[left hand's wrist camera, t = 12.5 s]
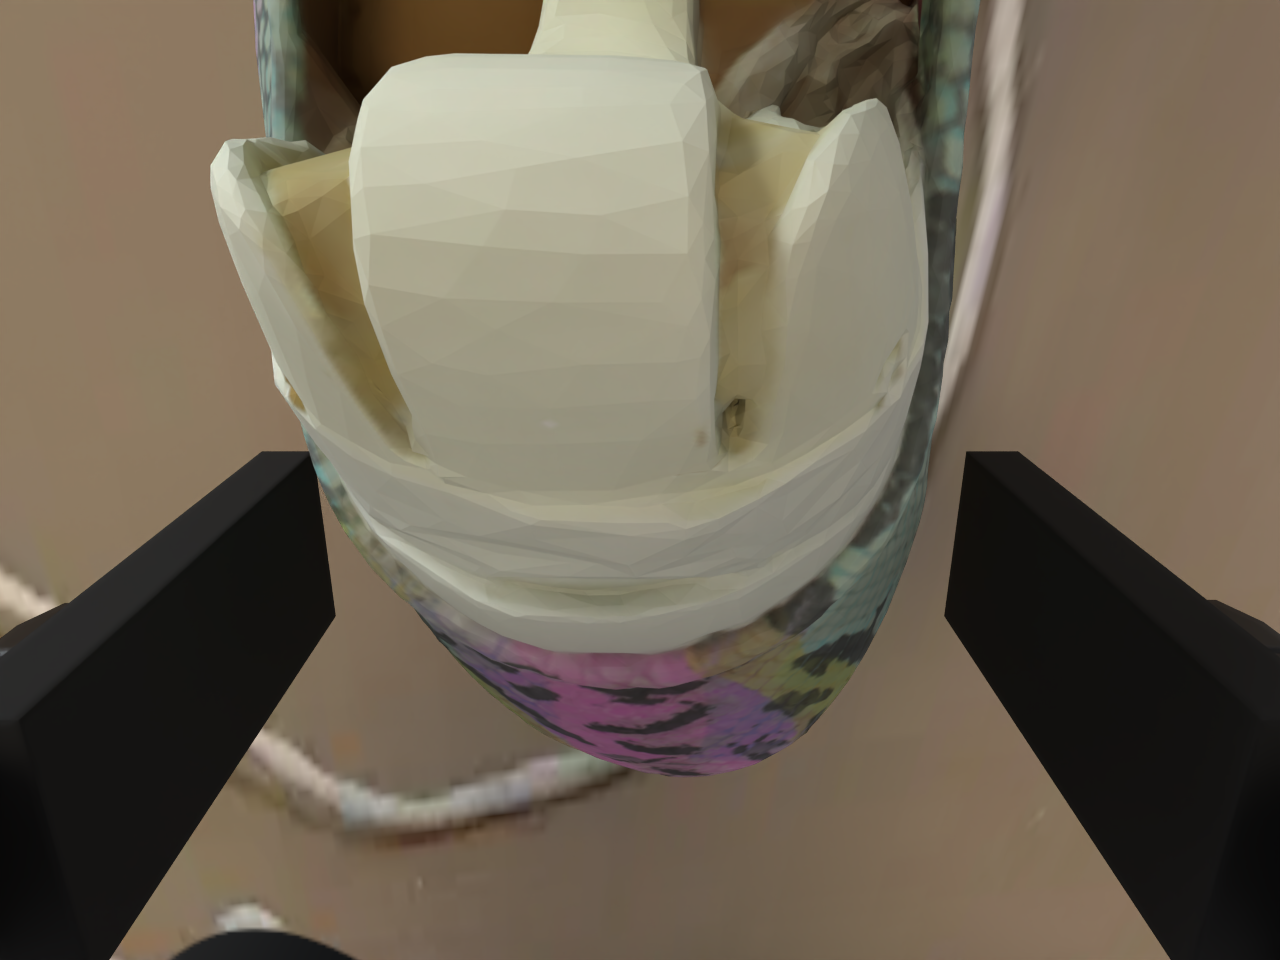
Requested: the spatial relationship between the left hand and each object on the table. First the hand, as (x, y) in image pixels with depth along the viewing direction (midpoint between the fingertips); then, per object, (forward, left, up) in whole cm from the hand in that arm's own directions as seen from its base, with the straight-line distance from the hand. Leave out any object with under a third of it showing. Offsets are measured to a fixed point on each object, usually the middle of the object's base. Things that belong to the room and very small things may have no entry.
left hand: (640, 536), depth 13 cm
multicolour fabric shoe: (+8, 0, -1) cm, 8 cm away
